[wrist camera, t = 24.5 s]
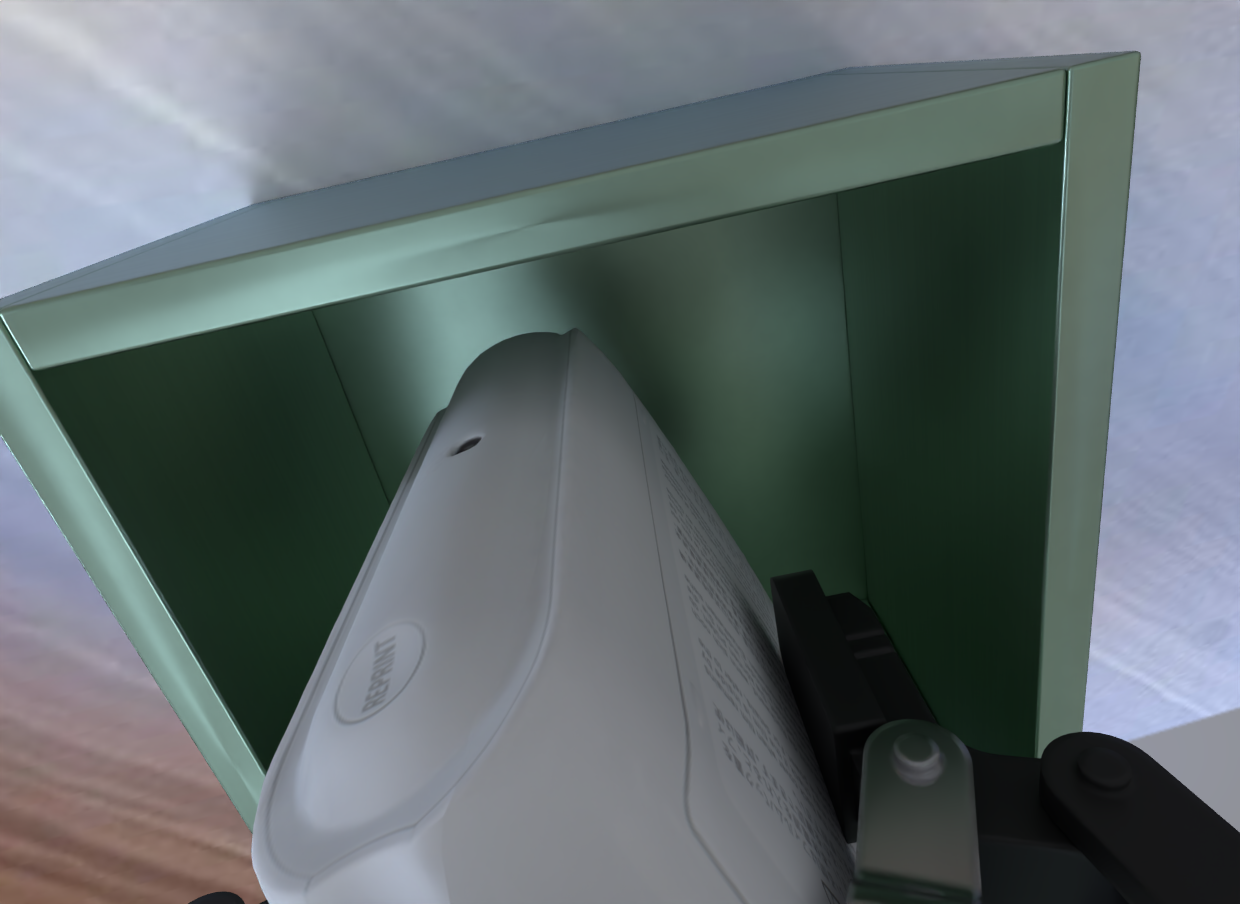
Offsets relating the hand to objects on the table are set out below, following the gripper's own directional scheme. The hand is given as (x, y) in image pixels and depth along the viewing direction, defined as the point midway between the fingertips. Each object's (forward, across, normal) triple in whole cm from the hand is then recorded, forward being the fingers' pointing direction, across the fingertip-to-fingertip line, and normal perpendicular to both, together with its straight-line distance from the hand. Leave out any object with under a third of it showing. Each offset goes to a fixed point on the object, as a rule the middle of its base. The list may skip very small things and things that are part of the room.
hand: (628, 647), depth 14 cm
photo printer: (+5, 0, 0) cm, 5 cm away
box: (+10, 0, 0) cm, 10 cm away
